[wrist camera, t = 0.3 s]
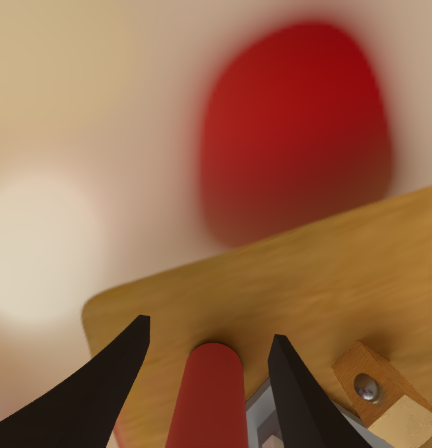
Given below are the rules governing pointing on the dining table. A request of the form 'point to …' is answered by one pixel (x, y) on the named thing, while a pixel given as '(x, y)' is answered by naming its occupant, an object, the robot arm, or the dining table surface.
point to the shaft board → (268, 404)
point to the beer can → (210, 401)
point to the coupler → (384, 398)
